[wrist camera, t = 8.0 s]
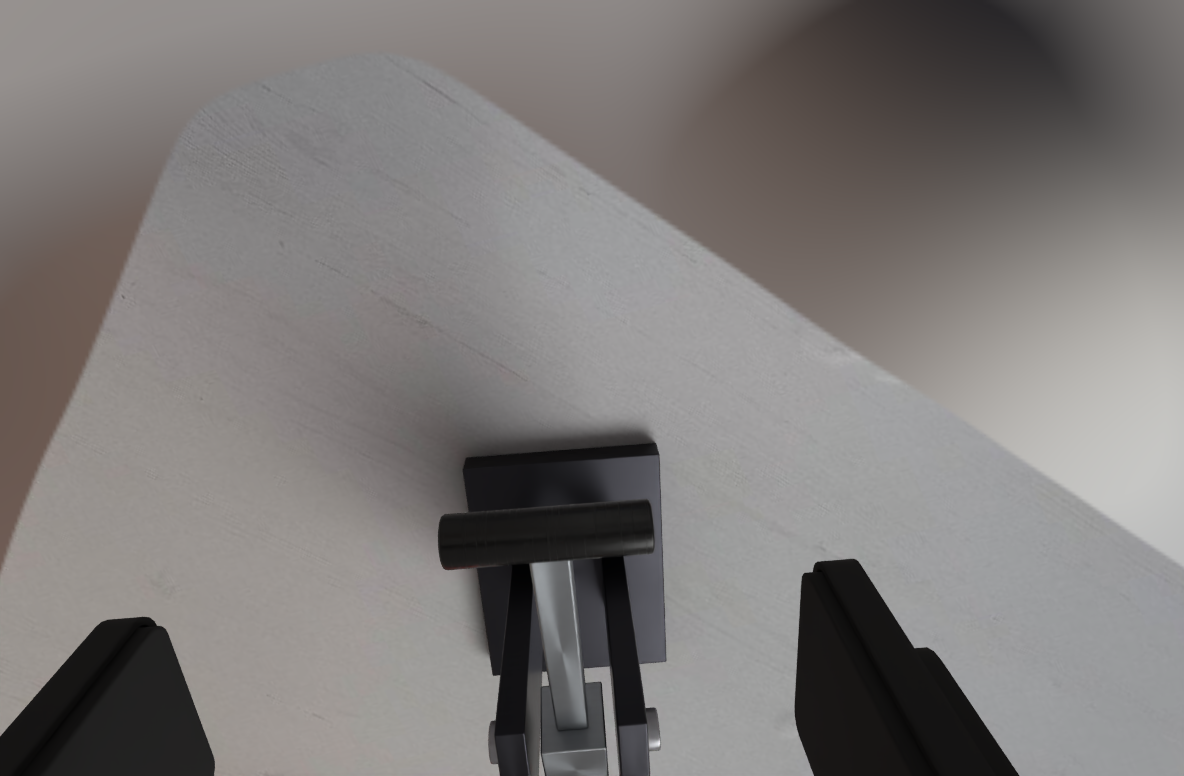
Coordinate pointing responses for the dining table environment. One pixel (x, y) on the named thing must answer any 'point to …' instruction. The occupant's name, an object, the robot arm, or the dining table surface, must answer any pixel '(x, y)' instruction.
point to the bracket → (603, 592)
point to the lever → (556, 603)
